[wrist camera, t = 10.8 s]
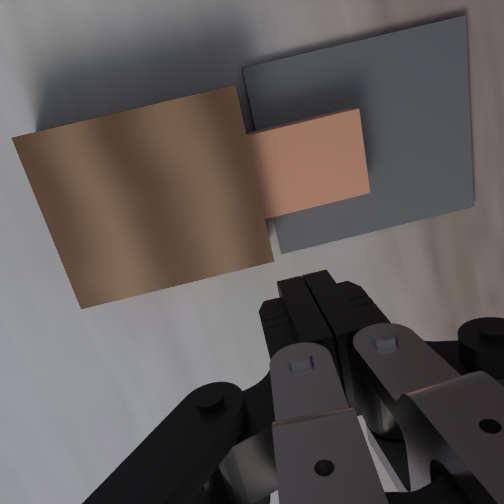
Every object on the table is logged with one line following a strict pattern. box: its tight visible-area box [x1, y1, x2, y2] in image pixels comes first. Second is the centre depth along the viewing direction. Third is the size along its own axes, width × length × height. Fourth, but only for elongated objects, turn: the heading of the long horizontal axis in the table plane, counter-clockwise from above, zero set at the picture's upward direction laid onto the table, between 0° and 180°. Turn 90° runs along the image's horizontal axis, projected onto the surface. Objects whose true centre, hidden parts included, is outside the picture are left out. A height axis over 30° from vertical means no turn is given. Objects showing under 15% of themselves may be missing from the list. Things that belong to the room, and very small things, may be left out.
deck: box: [12, 85, 274, 309], centre depth 30 cm, size 14×12×4 cm
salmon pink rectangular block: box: [246, 108, 370, 219], centre depth 31 cm, size 8×6×2 cm
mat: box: [242, 15, 474, 254], centre depth 33 cm, size 16×14×1 cm
